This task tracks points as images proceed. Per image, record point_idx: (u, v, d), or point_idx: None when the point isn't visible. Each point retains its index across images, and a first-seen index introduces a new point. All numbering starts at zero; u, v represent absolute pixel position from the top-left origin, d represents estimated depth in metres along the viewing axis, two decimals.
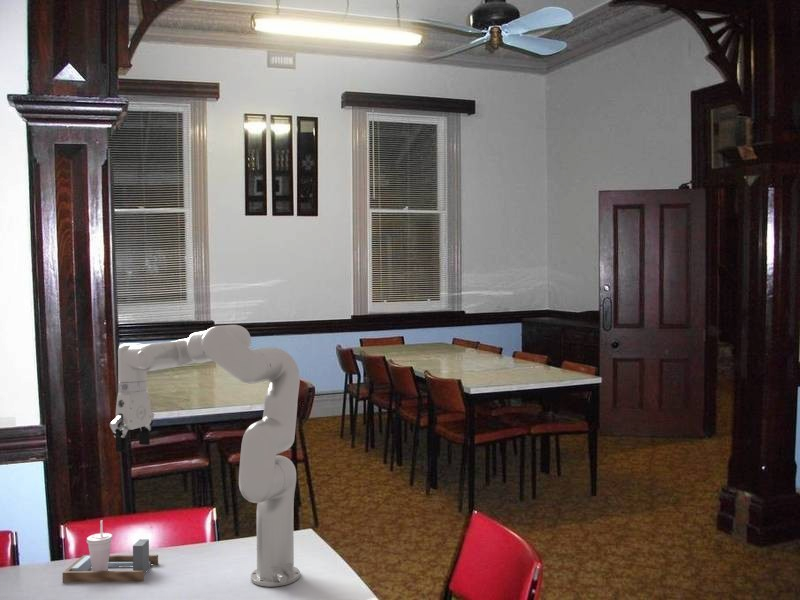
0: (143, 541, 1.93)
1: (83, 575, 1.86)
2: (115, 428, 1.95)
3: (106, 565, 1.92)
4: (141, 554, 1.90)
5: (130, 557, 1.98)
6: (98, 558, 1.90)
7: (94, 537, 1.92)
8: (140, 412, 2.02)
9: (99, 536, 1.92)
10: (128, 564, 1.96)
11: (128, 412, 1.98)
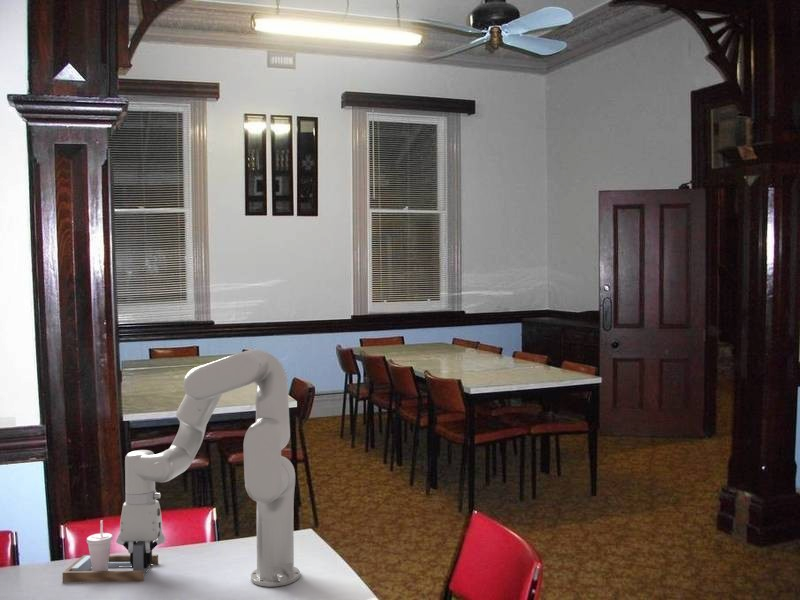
0: (143, 541, 1.93)
1: (83, 575, 1.86)
2: None
3: (106, 565, 1.92)
4: (141, 554, 1.90)
5: None
6: (98, 558, 1.90)
7: (94, 537, 1.92)
8: None
9: (99, 536, 1.92)
10: (128, 564, 1.96)
11: None
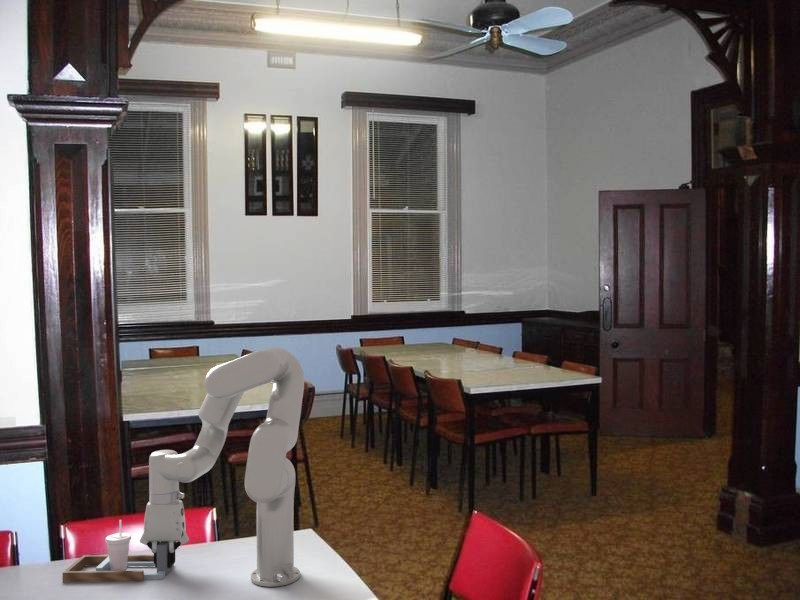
0: (166, 541, 1.93)
1: (83, 575, 1.86)
2: None
3: (125, 565, 1.92)
4: (164, 554, 1.90)
5: (130, 557, 1.98)
6: (117, 558, 1.90)
7: (113, 537, 1.92)
8: None
9: (118, 536, 1.92)
10: (151, 564, 1.96)
11: None
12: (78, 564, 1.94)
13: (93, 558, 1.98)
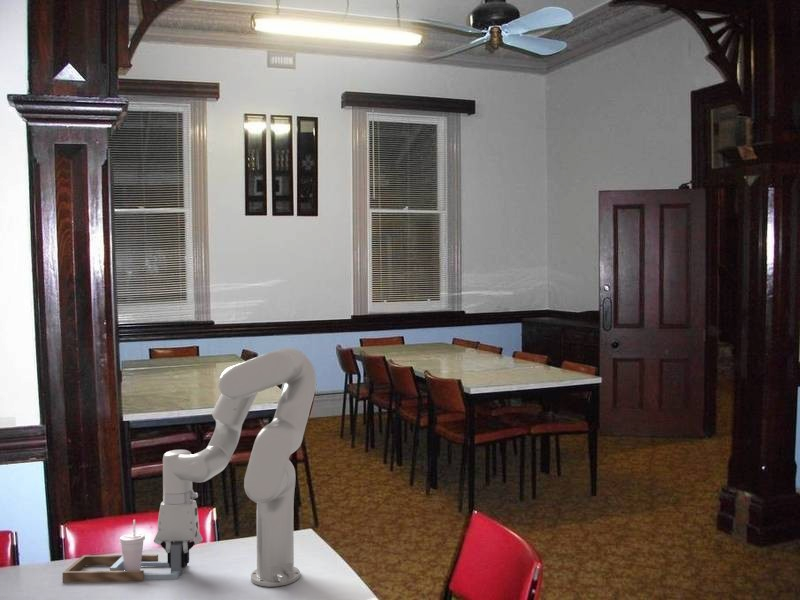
0: (180, 541, 1.93)
1: (83, 575, 1.86)
2: None
3: (139, 564, 1.92)
4: (178, 554, 1.90)
5: None
6: (131, 558, 1.90)
7: (127, 537, 1.92)
8: None
9: (132, 536, 1.92)
10: (165, 564, 1.96)
11: None
12: (78, 564, 1.94)
13: (93, 558, 1.98)
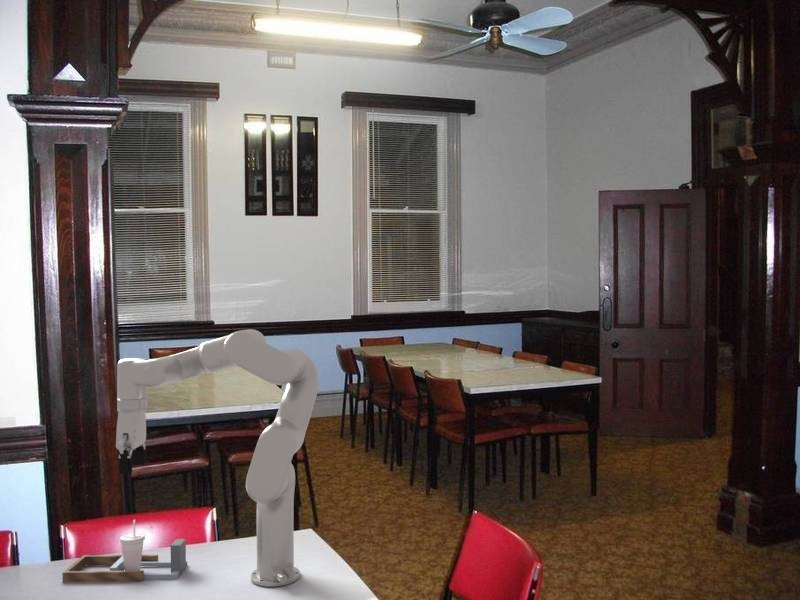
0: (180, 541, 1.93)
1: (83, 575, 1.86)
2: None
3: (139, 565, 1.92)
4: (178, 554, 1.90)
5: None
6: (131, 558, 1.90)
7: (127, 537, 1.92)
8: None
9: (132, 536, 1.92)
10: (165, 564, 1.96)
11: None
12: (78, 564, 1.94)
13: (93, 558, 1.98)
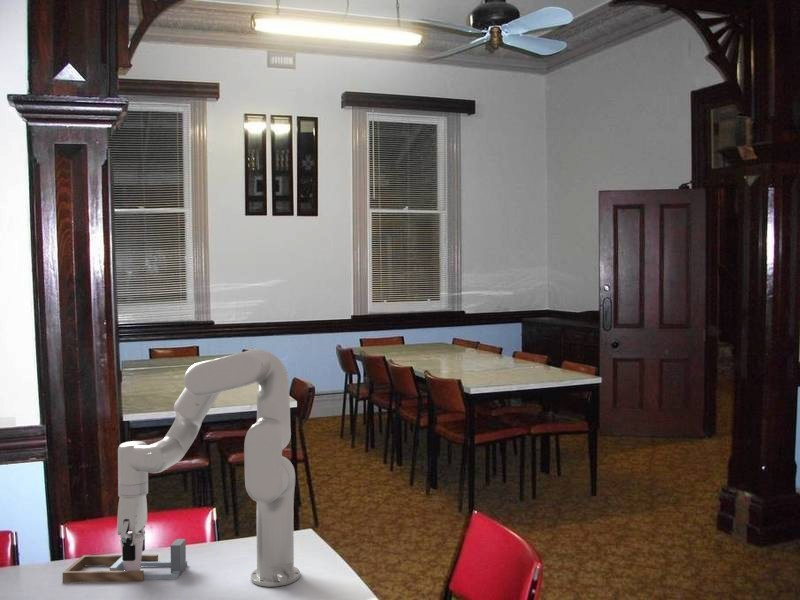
0: (180, 541, 1.93)
1: (83, 575, 1.86)
2: None
3: (139, 564, 1.92)
4: (178, 554, 1.90)
5: None
6: None
7: None
8: None
9: None
10: (164, 564, 1.96)
11: None
12: (78, 564, 1.94)
13: (93, 558, 1.98)
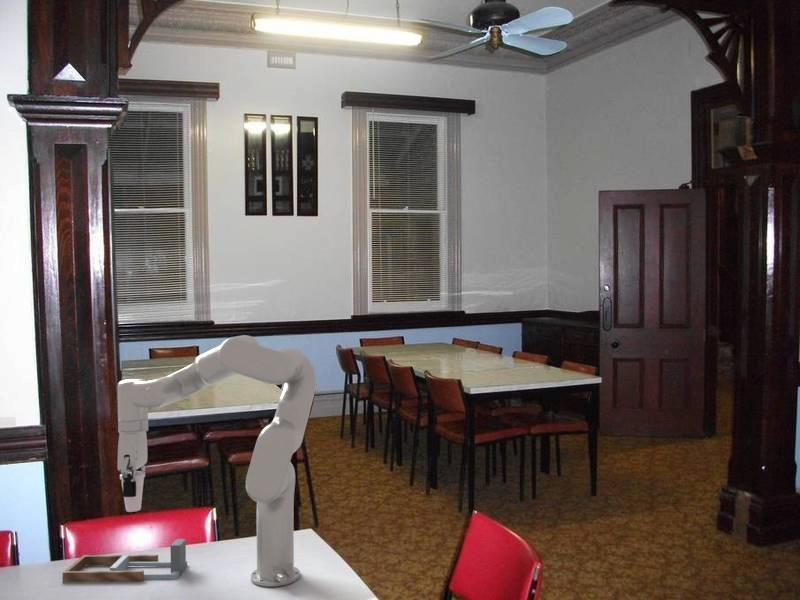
0: (180, 541, 1.93)
1: (83, 575, 1.86)
2: None
3: (140, 502, 1.92)
4: (178, 554, 1.90)
5: (130, 557, 1.98)
6: None
7: None
8: None
9: None
10: (164, 564, 1.96)
11: None
12: (78, 564, 1.94)
13: (93, 558, 1.98)
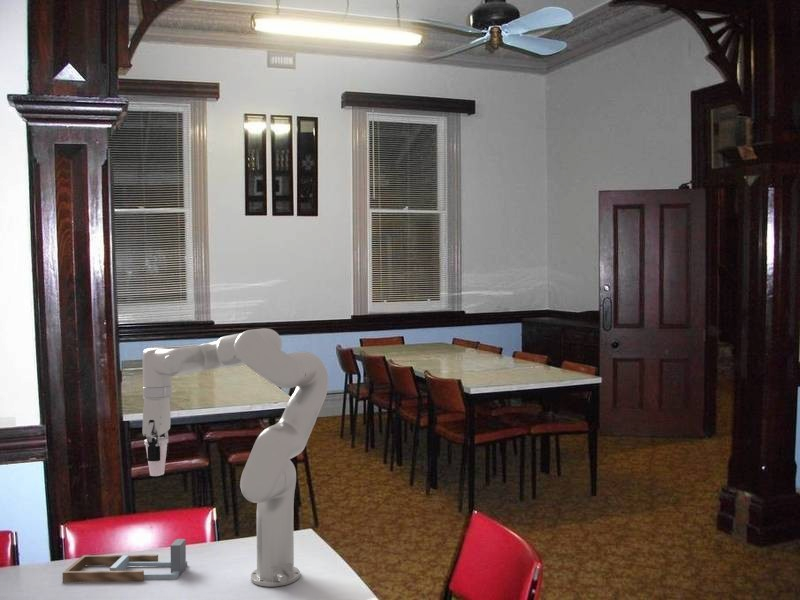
0: (180, 541, 1.93)
1: (83, 575, 1.86)
2: None
3: (163, 466, 1.98)
4: (178, 554, 1.90)
5: (130, 557, 1.98)
6: None
7: None
8: None
9: None
10: (164, 564, 1.96)
11: None
12: (78, 564, 1.94)
13: (93, 558, 1.98)
